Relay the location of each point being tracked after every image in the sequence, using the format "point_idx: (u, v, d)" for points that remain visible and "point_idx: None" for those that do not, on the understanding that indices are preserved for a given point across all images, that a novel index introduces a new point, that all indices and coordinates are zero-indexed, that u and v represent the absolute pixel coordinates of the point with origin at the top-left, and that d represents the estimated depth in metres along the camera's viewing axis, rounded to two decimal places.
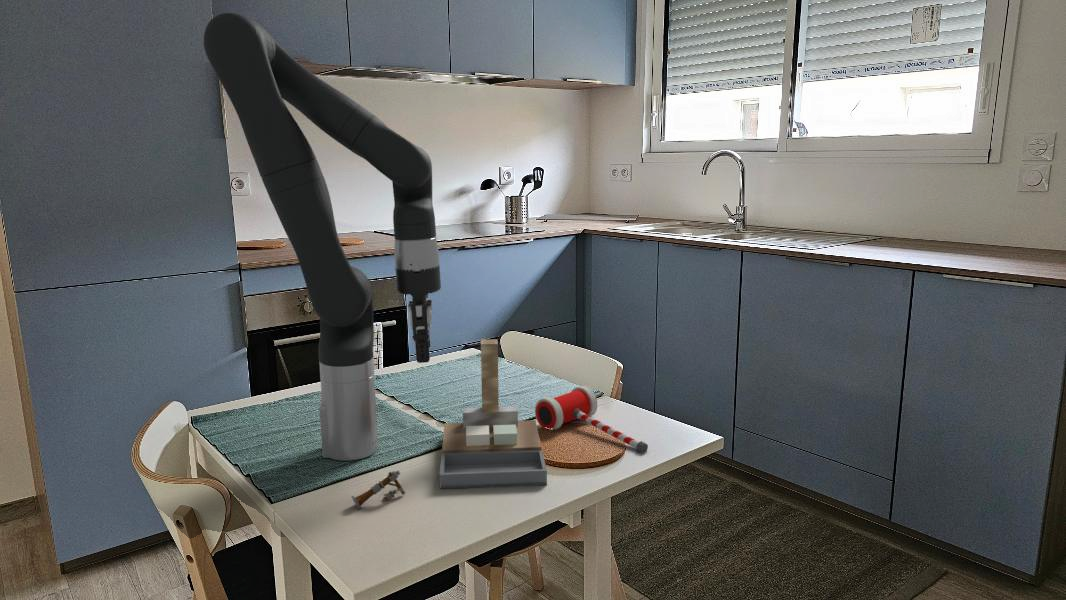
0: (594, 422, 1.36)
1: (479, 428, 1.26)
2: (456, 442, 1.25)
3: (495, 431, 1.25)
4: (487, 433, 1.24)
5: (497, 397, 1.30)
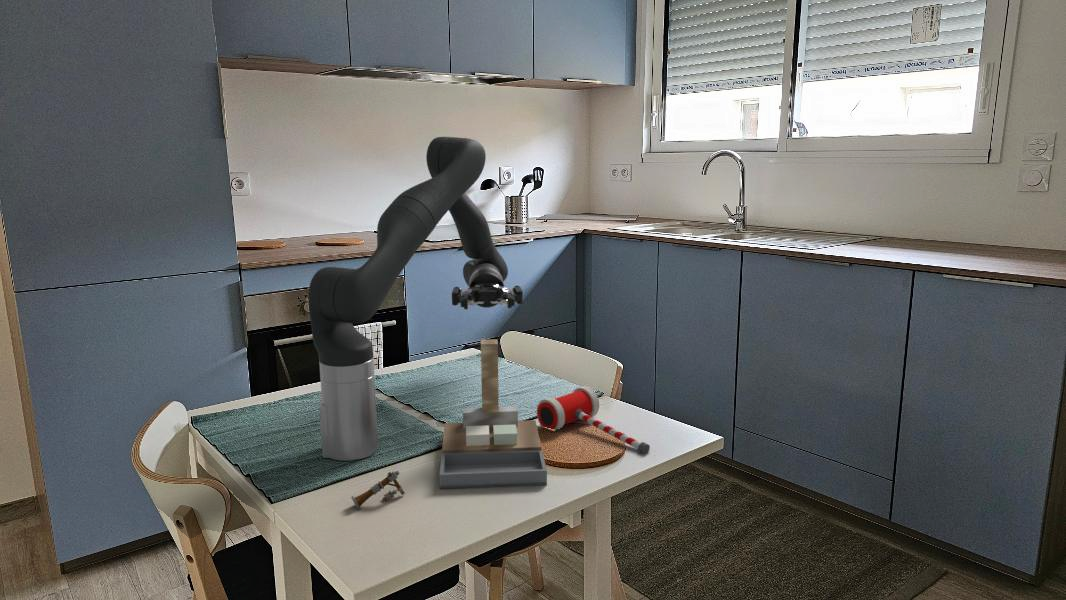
0: (596, 422, 1.36)
1: (479, 428, 1.26)
2: (456, 442, 1.25)
3: (495, 431, 1.25)
4: (487, 433, 1.24)
5: (497, 397, 1.30)
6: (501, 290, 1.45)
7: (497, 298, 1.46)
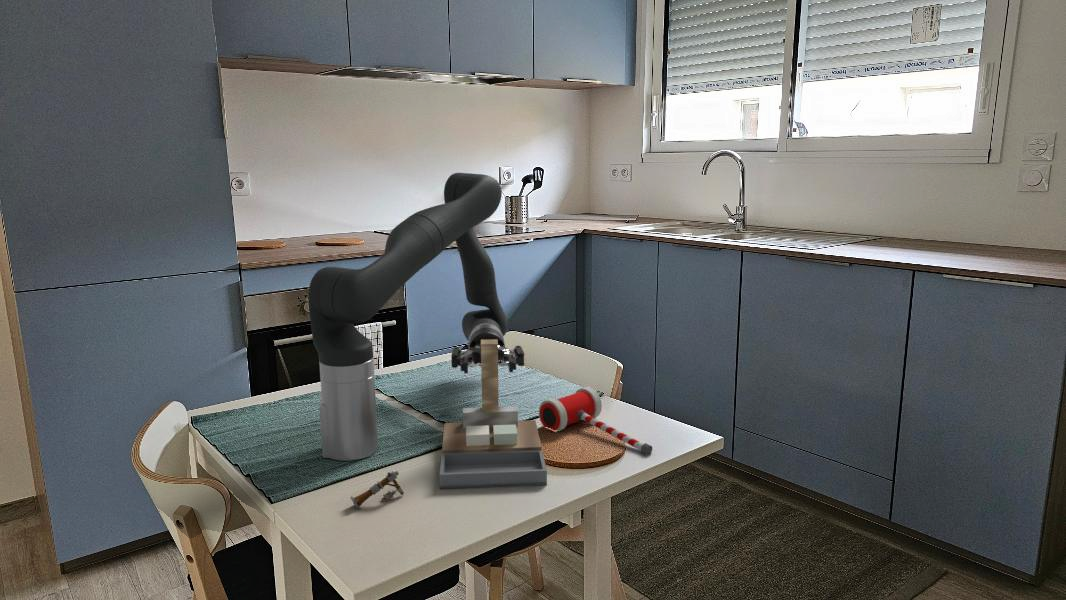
0: (598, 423, 1.35)
1: (479, 428, 1.26)
2: (456, 442, 1.25)
3: (495, 431, 1.25)
4: (487, 433, 1.24)
5: (497, 397, 1.30)
6: (502, 352, 1.41)
7: (498, 360, 1.42)
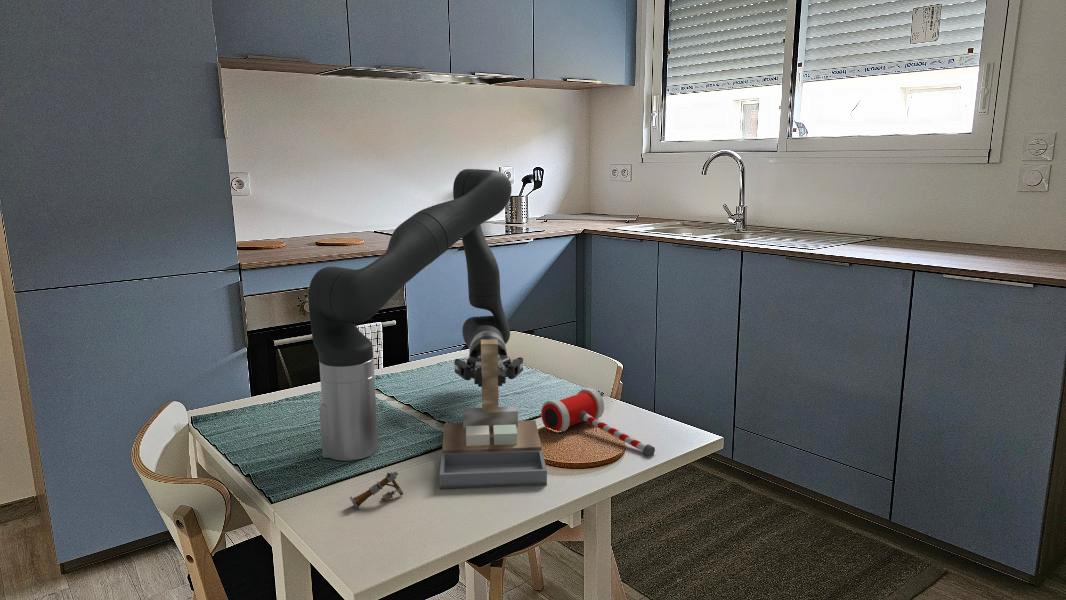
0: (600, 424, 1.35)
1: (479, 428, 1.26)
2: (456, 442, 1.25)
3: (495, 431, 1.25)
4: (487, 433, 1.24)
5: (497, 397, 1.30)
6: None
7: None
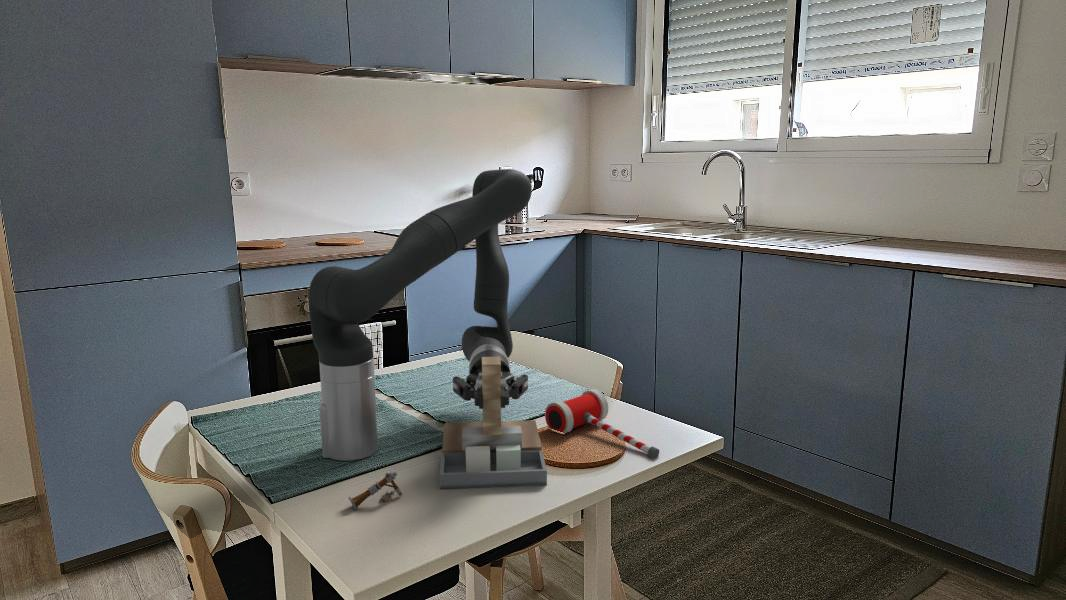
0: (604, 426, 1.34)
1: (479, 458, 1.18)
2: (456, 442, 1.25)
3: (498, 466, 1.19)
4: (488, 470, 1.19)
5: (499, 419, 1.19)
6: None
7: None
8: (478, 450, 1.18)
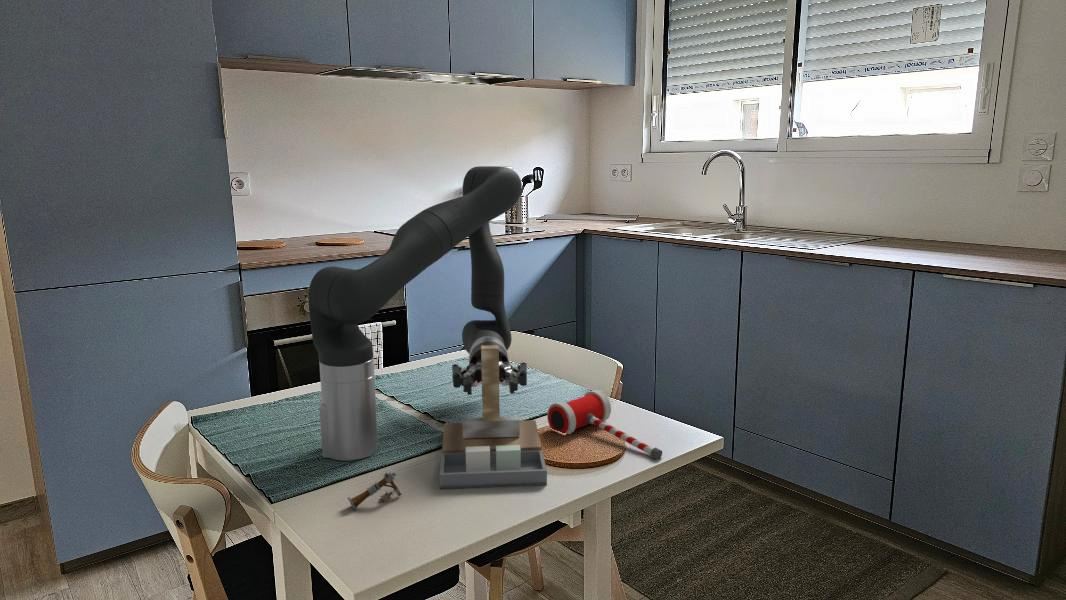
0: (607, 427, 1.33)
1: (479, 458, 1.18)
2: (456, 442, 1.25)
3: (498, 466, 1.19)
4: (488, 470, 1.19)
5: (498, 405, 1.26)
6: (503, 370, 1.28)
7: (501, 378, 1.29)
8: (478, 450, 1.18)
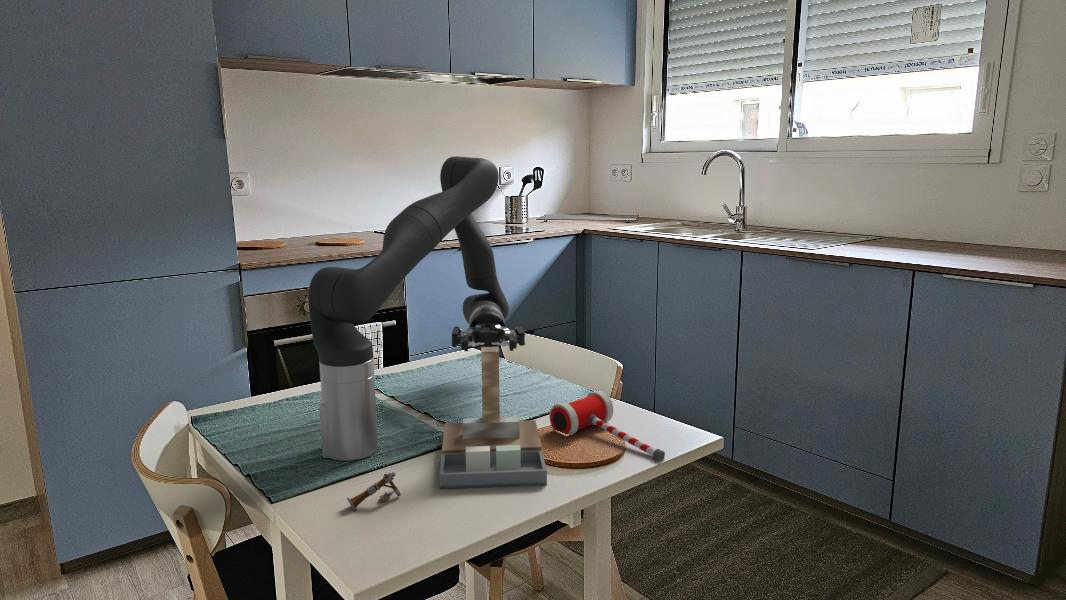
0: (610, 428, 1.33)
1: (479, 458, 1.18)
2: (456, 442, 1.25)
3: (498, 466, 1.19)
4: (488, 470, 1.19)
5: (498, 407, 1.25)
6: (503, 331, 1.40)
7: (498, 339, 1.41)
8: (478, 450, 1.18)
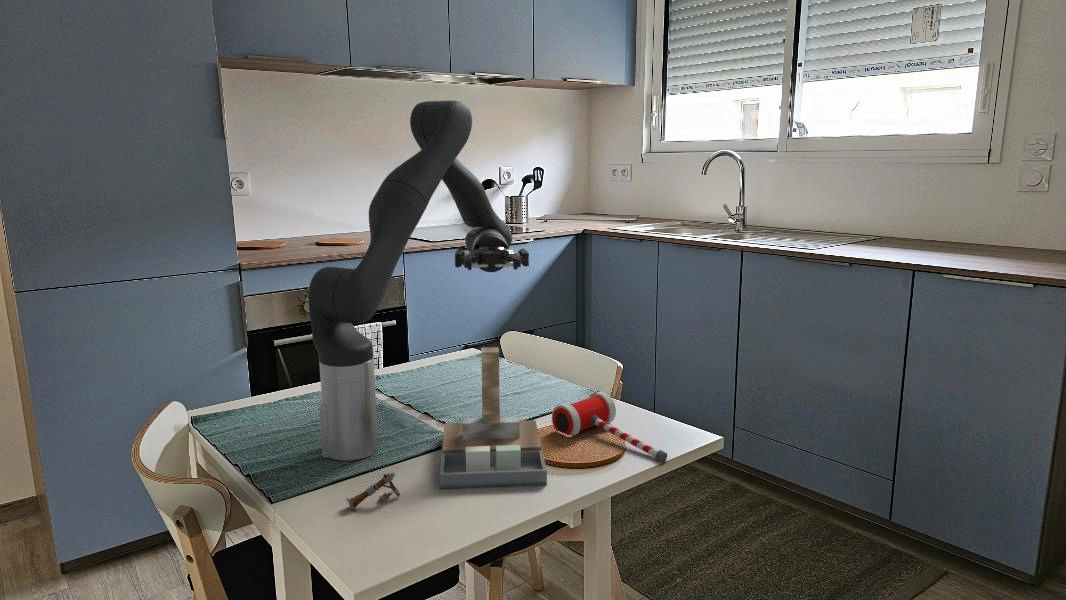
0: (612, 429, 1.32)
1: (479, 458, 1.18)
2: (456, 442, 1.25)
3: (498, 466, 1.19)
4: (488, 470, 1.19)
5: (498, 407, 1.25)
6: (506, 252, 1.39)
7: (502, 261, 1.39)
8: (478, 450, 1.18)
